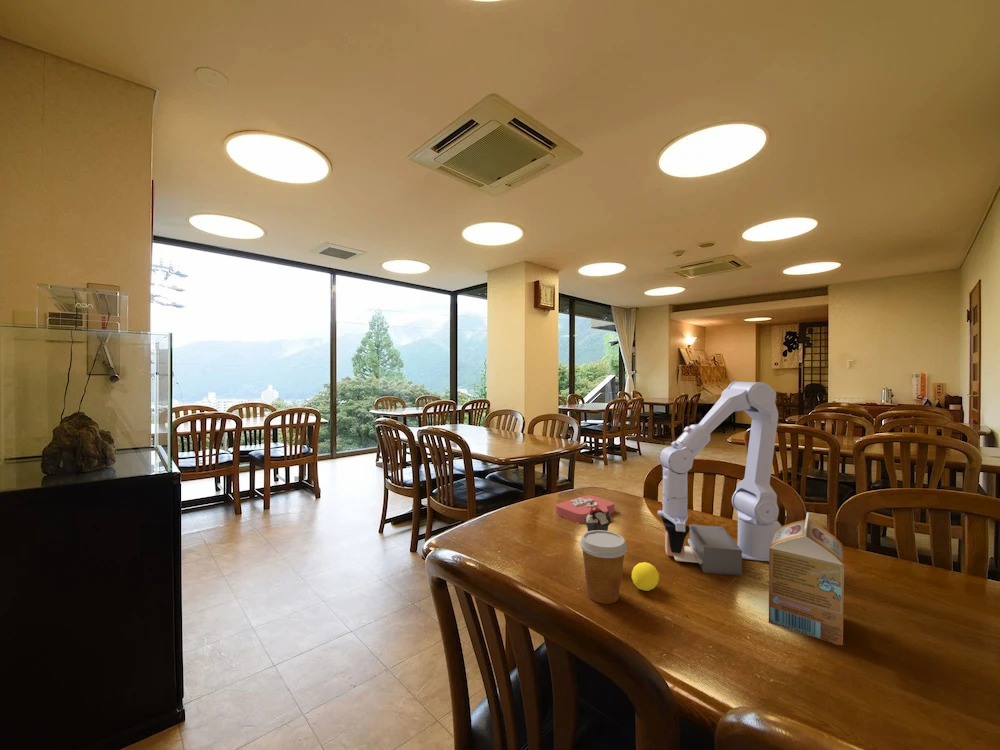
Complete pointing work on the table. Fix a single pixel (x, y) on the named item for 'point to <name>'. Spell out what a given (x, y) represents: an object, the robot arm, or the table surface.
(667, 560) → the table surface
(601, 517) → the sundae
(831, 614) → the milk carton
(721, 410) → the robot arm
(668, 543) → the peach block on base
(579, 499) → the plaque
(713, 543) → the dispenser
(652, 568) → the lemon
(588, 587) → the disposable coffee cup
